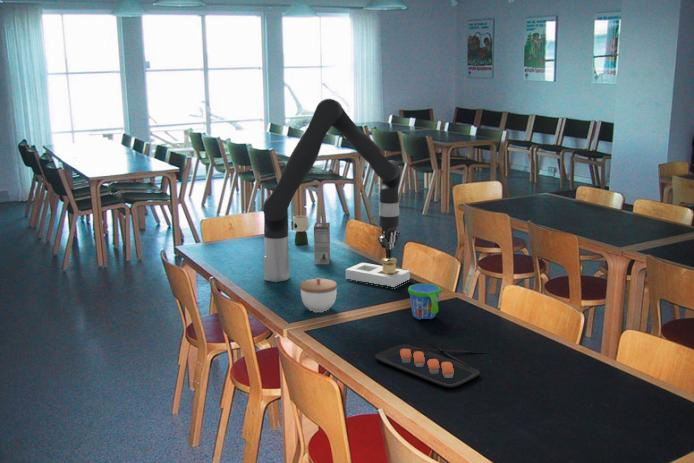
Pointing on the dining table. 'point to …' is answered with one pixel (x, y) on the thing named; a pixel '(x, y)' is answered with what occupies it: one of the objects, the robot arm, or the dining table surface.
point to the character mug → (300, 229)
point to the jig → (376, 275)
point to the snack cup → (424, 300)
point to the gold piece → (389, 266)
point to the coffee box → (322, 243)
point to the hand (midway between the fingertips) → (389, 258)
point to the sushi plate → (432, 363)
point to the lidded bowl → (318, 294)
